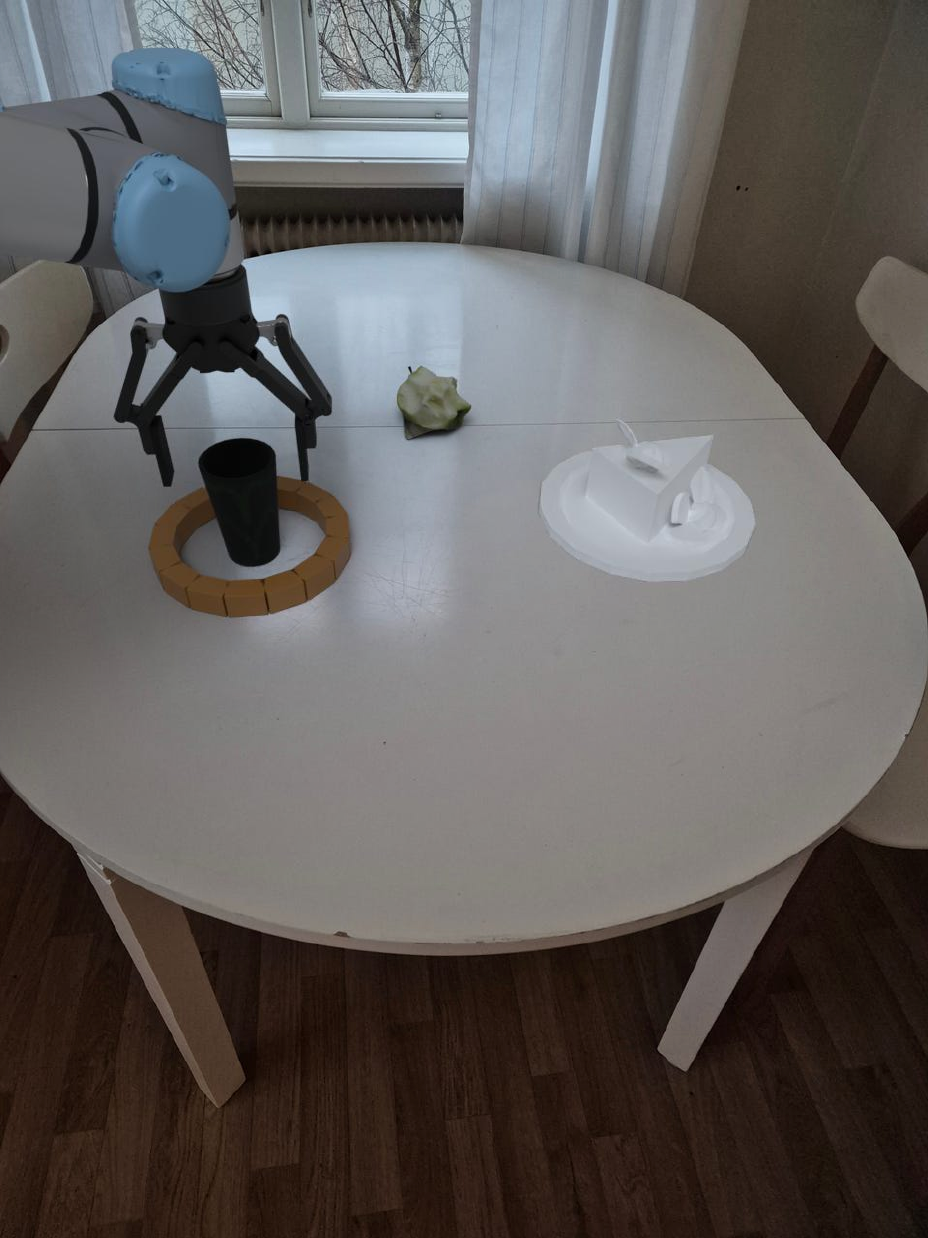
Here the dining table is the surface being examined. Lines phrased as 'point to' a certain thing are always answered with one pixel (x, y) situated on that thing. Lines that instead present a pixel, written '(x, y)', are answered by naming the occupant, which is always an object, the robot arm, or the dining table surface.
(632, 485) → the dish
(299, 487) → the orange-brown segmented ring
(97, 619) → the dining table surface
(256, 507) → the cup
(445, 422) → the fruit
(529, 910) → the dining table surface
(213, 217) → the robot arm
